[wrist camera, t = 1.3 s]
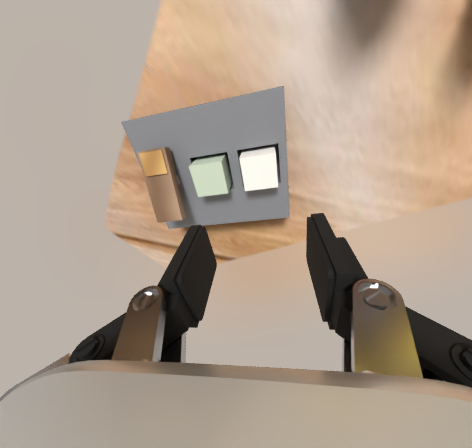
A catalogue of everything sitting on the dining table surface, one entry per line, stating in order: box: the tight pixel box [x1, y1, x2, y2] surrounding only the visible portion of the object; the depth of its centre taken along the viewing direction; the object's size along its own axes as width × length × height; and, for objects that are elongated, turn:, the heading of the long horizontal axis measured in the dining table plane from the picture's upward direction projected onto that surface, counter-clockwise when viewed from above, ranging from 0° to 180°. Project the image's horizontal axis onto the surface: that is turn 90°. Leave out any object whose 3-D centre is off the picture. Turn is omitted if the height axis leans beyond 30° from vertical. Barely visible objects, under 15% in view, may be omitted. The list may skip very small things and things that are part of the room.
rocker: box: [137, 147, 186, 222], centre depth 22 cm, size 3×8×1 cm, turn 11°
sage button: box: [189, 154, 232, 197], centre depth 22 cm, size 4×4×3 cm
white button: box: [239, 146, 278, 191], centre depth 21 cm, size 4×4×3 cm
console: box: [122, 86, 289, 229], centre depth 24 cm, size 17×14×5 cm
